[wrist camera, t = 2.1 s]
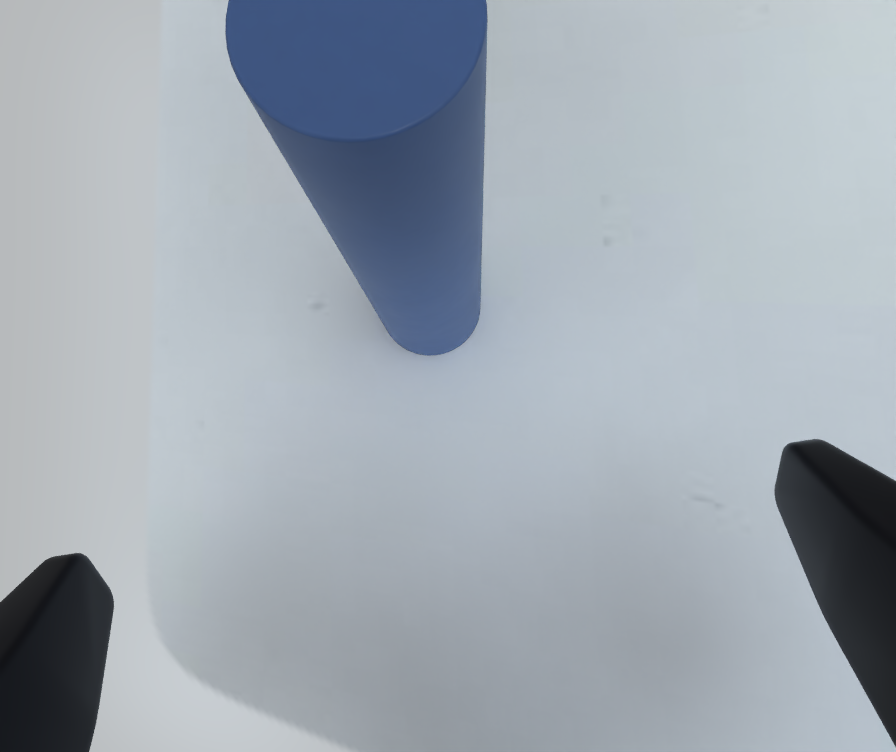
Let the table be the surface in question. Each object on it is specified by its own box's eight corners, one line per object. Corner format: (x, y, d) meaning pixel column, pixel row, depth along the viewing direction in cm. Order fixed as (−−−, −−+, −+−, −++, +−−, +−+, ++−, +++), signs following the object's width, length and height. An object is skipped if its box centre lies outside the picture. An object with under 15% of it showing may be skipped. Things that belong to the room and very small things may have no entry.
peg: (427, 376, 22) (343, 194, 8) (361, 304, 22) (170, 15, 8) (500, 308, 22) (542, 17, 8) (433, 239, 22) (365, -148, 9)
